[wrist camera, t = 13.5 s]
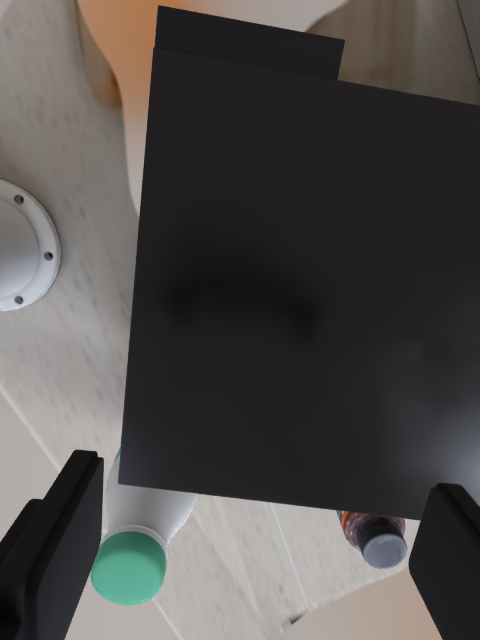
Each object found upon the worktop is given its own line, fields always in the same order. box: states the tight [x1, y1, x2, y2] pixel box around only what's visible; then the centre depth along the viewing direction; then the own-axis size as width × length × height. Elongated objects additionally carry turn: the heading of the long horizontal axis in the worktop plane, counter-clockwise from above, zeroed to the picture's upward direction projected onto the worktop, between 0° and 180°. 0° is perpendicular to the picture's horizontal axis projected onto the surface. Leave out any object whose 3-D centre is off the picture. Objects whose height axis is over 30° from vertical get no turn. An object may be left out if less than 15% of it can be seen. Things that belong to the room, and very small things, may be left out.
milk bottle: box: [91, 447, 198, 605], centre depth 34 cm, size 8×8×20 cm
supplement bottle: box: [336, 510, 407, 569], centre depth 40 cm, size 6×6×11 cm
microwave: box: [118, 5, 480, 520], centre depth 30 cm, size 24×30×20 cm
